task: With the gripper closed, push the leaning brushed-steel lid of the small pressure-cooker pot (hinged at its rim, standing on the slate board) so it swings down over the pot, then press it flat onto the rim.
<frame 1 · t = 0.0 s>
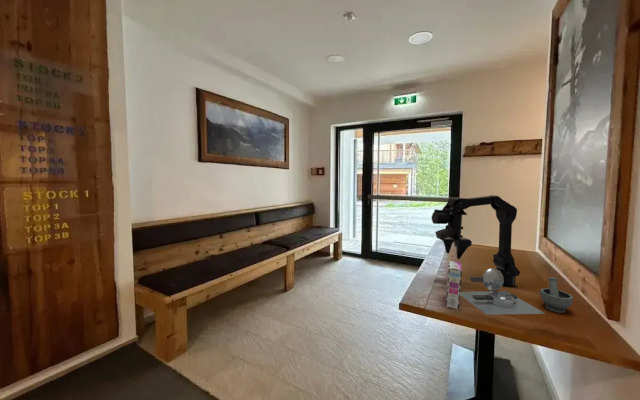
hand: (452, 256, 128), 15 cm above the table, fingers open, 9 cm apart
candy bar box: (452, 303, 111), on the table
lid: (486, 279, 115), point 8 cm above the table, hinge at 100.0°
slate board: (497, 302, 112), on the table
mortar and pestle: (554, 309, 107), on the table
cooker pot: (500, 302, 111), resting on slate board
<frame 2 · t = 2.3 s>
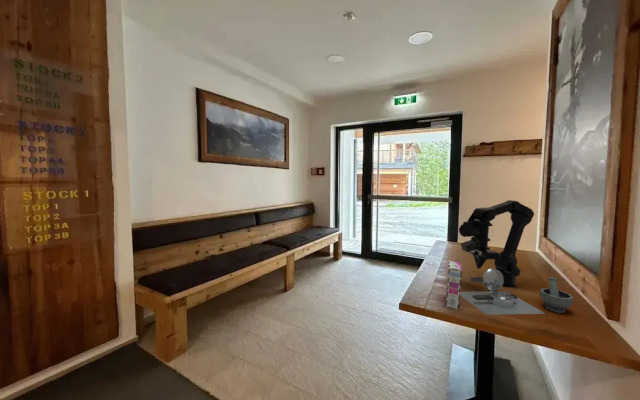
hand: (478, 268, 125), 10 cm above the table, fingers closed
nothing on the table moved.
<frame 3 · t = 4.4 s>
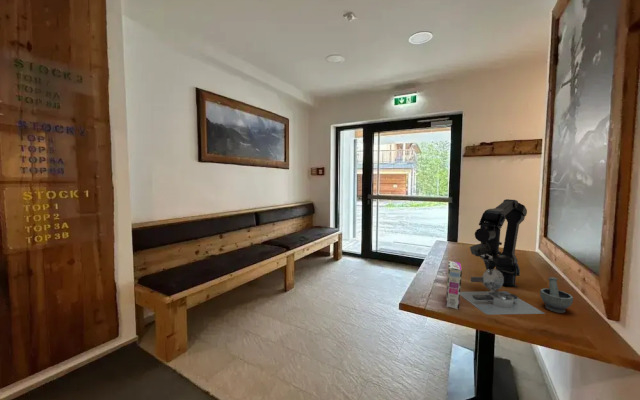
hand: (488, 273, 118), 10 cm above the table, fingers closed
lid: (486, 279, 115), point 8 cm above the table, hinge at 99.0°, touching gripper
everything else where it was.
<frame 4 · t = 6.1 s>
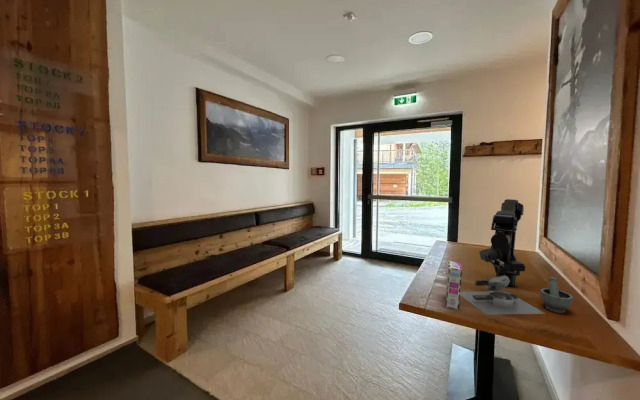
hand: (499, 279, 112), 10 cm above the table, fingers closed, pressing on lid
lid: (491, 282, 112), point 8 cm above the table, hinge at 61.3°, touching gripper
everything else where it was.
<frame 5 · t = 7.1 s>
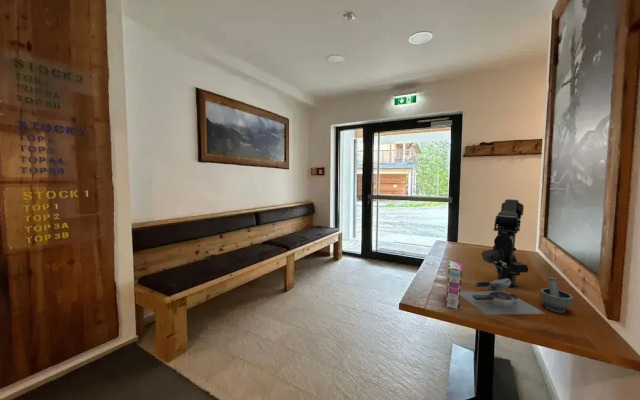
hand: (501, 280, 110), 10 cm above the table, fingers closed, pressing on lid
lid: (492, 283, 112), point 8 cm above the table, hinge at 52.1°, touching gripper
everything else where it was.
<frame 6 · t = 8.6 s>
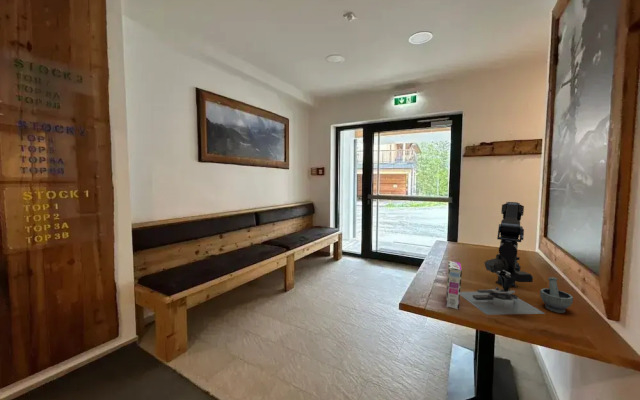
hand: (505, 290, 108), 7 cm above the table, fingers closed, pressing on lid
lid: (495, 290, 110), point 6 cm above the table, hinge at 18.3°, touching gripper
everything else where it was.
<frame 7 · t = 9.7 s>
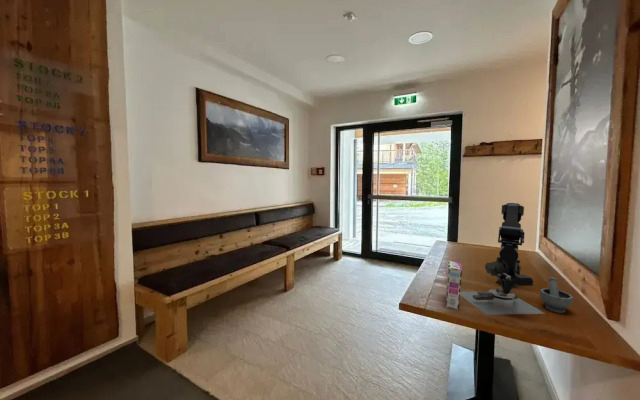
hand: (505, 293, 108), 5 cm above the table, fingers closed
lid: (495, 292, 110), point 5 cm above the table, hinge at 6.4°
everything else where it was.
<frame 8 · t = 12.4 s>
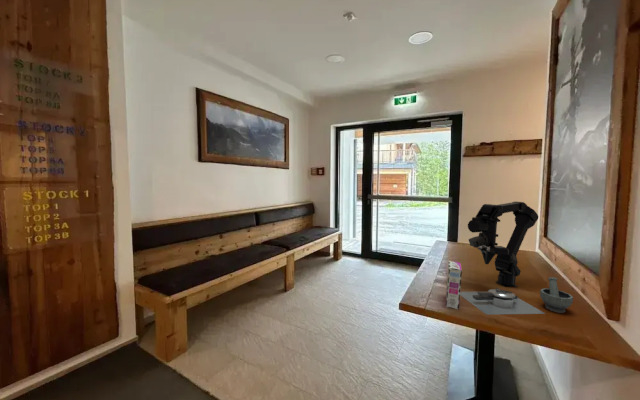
hand: (486, 264, 125), 12 cm above the table, fingers closed
nothing on the table moved.
at the end: lid at +6° (first picture: +100°) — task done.
